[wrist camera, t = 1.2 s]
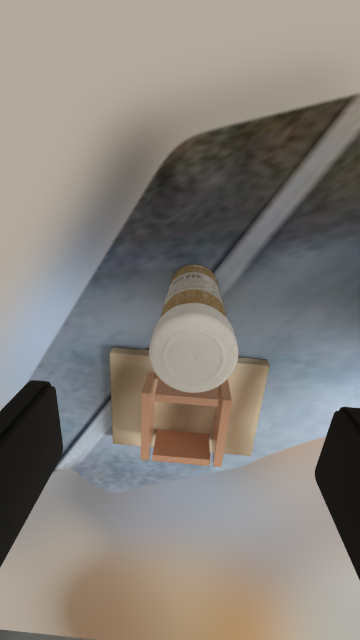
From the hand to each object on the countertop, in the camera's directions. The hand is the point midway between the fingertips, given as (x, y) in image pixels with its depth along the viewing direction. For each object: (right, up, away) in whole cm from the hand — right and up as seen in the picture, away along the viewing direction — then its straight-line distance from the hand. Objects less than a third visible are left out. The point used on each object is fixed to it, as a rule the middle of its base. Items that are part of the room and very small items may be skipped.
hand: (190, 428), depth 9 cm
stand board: (0, -5, +22) cm, 22 cm away
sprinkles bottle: (+1, +7, +17) cm, 18 cm away
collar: (0, -6, +21) cm, 21 cm away
